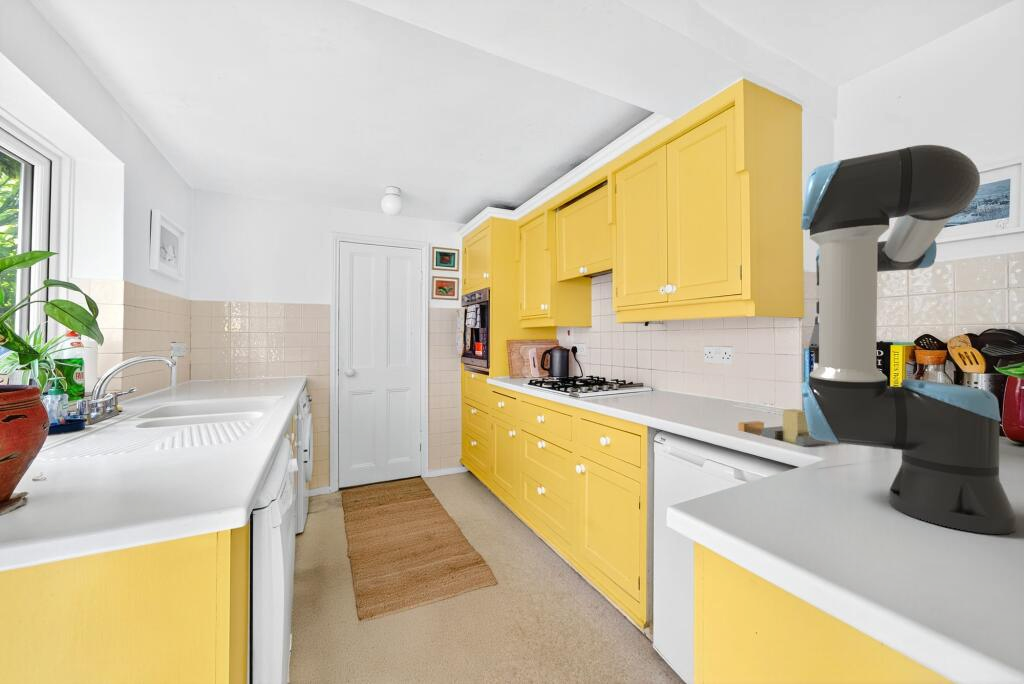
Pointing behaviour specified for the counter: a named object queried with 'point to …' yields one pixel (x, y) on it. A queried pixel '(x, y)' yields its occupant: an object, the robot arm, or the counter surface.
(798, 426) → the brass block
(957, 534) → the counter surface
